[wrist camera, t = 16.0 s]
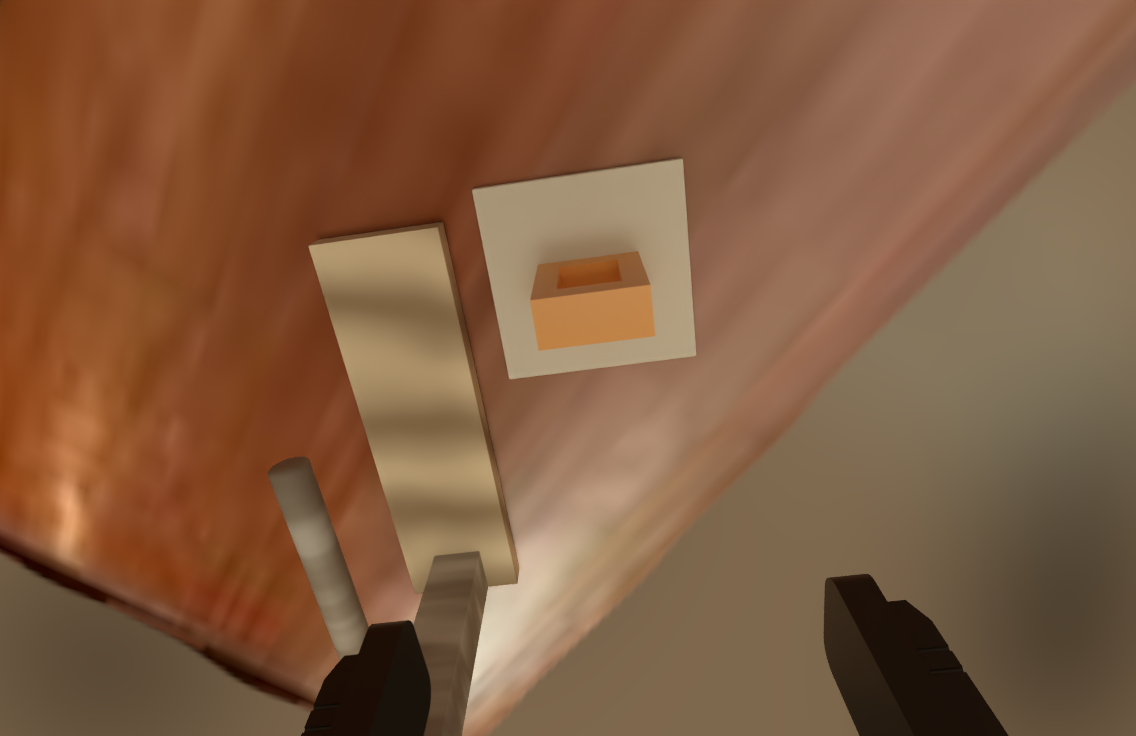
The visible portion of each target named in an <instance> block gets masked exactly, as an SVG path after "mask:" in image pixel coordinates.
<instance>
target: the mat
mask: <svg viewBox="0 0 1136 736" xmlns="http://www.w3.org/2000/svg"><path fill="white" fill-rule="evenodd" d="M472 193H473V198H474V203H475V208H476V213H477V218H478V223H479V228H480V233H481V238H482V243H483V248H484V253H485V259H486V264H487V269H488V274H489V279H490V284H491V289H492V294H493V299H494V304H495V309H496V314H497V319H498V324H499V329H500V334H501V339H502V344H503V349H504V354H505V359H506V365H507V370H508V375H509V379H516V378H524V377H532V376H540V375H548V374H556V373H564V372H572V371H579V370H587V369H595V368H603V367H611V366H619V365H627V364H635V363H643V362H651V361H659V360H667V359H675V358H683V357H691V356H696V344H695V329H694V315H693V300H692V286H691V271H690V256H689V242H688V227H687V213H686V198H685V183H684V169H683V159H682V158H676V159H669V160H662V161H655V162H648V163H642V164H635V165H628V166H621V167H614V168H608V169H601V170H594V171H587V172H581V173H574V174H567V175H560V176H553V177H547V178H540V179H533V180H526V181H519V182H513V183H506V184H499V185H492V186H485V187H479V188H473V189H472ZM636 251H638V252H639V255H640V257H641V260H642V263H643V266H644V268H645V271H646V274H647V276H648V279H649V282H650V284H651V295H652V306H653V317H654V328H655V336H653V337H645V338H637V339H629V340H621V341H613V342H605V343H597V344H589V345H581V346H573V347H565V348H557V349H549V350H541V351H539V350H538V344H537V339H536V333H535V327H534V321H533V315H532V309H531V303H530V298H531V294H532V289H533V284H534V280H535V275H536V271H537V266H538V265H539V264H546V263H554V262H561V261H568V260H576V259H583V258H591V257H598V256H606V255H613V254H621V253H628V252H636Z"/></svg>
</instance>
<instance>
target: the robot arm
mask: <svg viewBox="0 0 1136 736" xmlns="http://www.w3.org/2000/svg"><path fill="white" fill-rule="evenodd" d="M824 603H825V604H824V645H825V651H826V656H827V660H828V663H829V666H830V669H831V672H832V674H833V677H834V679H835V681H836V683H837V686H838V688H839V690H840V692H841V695H842V697H843V699H844V702H845V704H846V706H847V708H848V711H849V713H850V715H851V717H852V720H853V722H854V724H855V726H856V729H857V731H858V733H859V736H1008V734H1007V733H1006V731H1005V730H1004V728H1003V727H1002V725H1001V724H1000V722H999V721H998V719H997V718H996V716H995V715H994V713H993V712H992V710H991V709H990V707H989V706H988V704H987V703H986V701H985V700H984V698H983V697H982V695H981V694H980V692H979V691H978V689H977V688H976V686H975V685H974V683H973V682H972V680H971V679H970V677H969V676H968V674H967V673H966V672H963V668H962V665H961V664H960V663H959V661H958V660H957V658H956V656H955V655H954V653H953V652H952V651H950V650H949V647H948V644H947V643H946V642H945V640H944V639H943V637H942V636H941V634H940V633H939V631H938V629H937V628H936V626H935V625H934V624H933V622H932V621H931V620H930V619H929V618H928V617H926V616H925V615H924V614H923V613H921V612H920V611H919V610H917V609H916V608H915V607H913V606H912V605H911V604H910V603H908V602H907V601H906V600H900V601H891V602H887V600H886V599H885V597H884V595H883V594H882V592H881V591H880V589H879V587H878V586H877V584H876V582H875V581H874V579H873V578H872V577H871V576H870V575H869V574H860V575H850V576H841V577H831V578H827V579H826V582H825V602H824ZM430 704H431V682H430V676H429V672H428V669H427V666H426V663H425V660H424V656H423V653H422V650H421V647H420V644H419V641H418V638H417V634H416V631H415V628H414V626H413V624H412V622H411V621H409V620H407V621H398V622H388V623H379V624H372V625H371V626H370V627H369V628H368V630H367V632H366V635H365V637H364V640H363V643H362V645H361V648H360V651H359V653H358V654H355V655H345V656H344V657H343V658H342V659H341V660H340V661H339V663H338V664H337V665H336V666H335V667H334V669H333V670H332V671H331V672H330V673H329V675H328V676H327V677H326V678H325V679H324V682H323V684H322V687H321V689H320V691H319V694H318V696H317V699H316V701H315V703H314V710H313V711H311V713H310V715H309V718H308V720H307V723H306V725H305V732H304V733H302V735H301V736H424V732H425V728H426V723H427V719H428V715H429V710H430Z"/></svg>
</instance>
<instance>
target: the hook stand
mask: <svg viewBox="0 0 1136 736" xmlns="http://www.w3.org/2000/svg"><path fill="white" fill-rule="evenodd" d="M309 250H310V253H311V256H312V259H313V263H314V266H315V269H316V272H317V276H318V279H319V282H320V285H321V289H322V292H323V295H324V298H325V302H326V305H327V308H328V311H329V315H330V318H331V321H332V324H333V328H334V331H335V334H336V337H337V340H338V344H339V347H340V350H341V353H342V357H343V360H344V363H345V366H346V370H347V373H348V376H349V379H350V383H351V386H352V389H353V392H354V396H355V399H356V402H357V405H358V409H359V412H360V415H361V418H362V422H363V425H364V428H365V431H366V435H367V438H368V441H369V444H370V448H371V451H372V454H373V457H374V461H375V464H376V467H377V470H378V474H379V477H380V480H381V483H382V487H383V490H384V493H385V496H386V500H387V503H388V506H389V509H390V513H391V516H392V519H393V522H394V525H395V529H396V532H397V535H398V538H399V542H400V545H401V548H402V551H403V555H404V558H405V561H406V564H407V568H408V571H409V574H410V577H411V581H412V584H413V587H414V590H415V594H420V593H423V595H422V599H421V602H420V605H419V609H418V612H417V615H416V618H415V622H414V625H413V626H414V628H415V631H416V634H417V638H418V641H419V644H420V647H421V650H422V653H423V656H424V660H425V663H426V666H427V669H428V672H429V676H430V682H431V704H430V710H429V715H428V719H427V723H426V728H425V732H424V736H462V730H463V725H464V719H465V714H466V708H467V702H468V697H469V691H470V685H471V680H472V674H473V668H474V663H475V657H476V652H477V646H478V640H479V635H480V629H481V623H482V618H483V612H484V607H485V601H486V595H487V590H488V586H498V585H507V584H517V582H518V574H519V565H518V560H517V556H516V551H515V547H514V542H513V538H512V533H511V528H510V524H509V519H508V515H507V510H506V506H505V501H504V497H503V492H502V488H501V483H500V478H499V474H498V469H497V465H496V460H495V456H494V451H493V447H492V442H491V438H490V433H489V428H488V424H487V419H486V415H485V410H484V406H483V401H482V397H481V392H480V388H479V383H478V378H477V374H476V369H475V365H474V360H473V356H472V351H471V347H470V342H469V338H468V333H467V328H466V324H465V319H464V315H463V310H462V306H461V301H460V297H459V292H458V288H457V283H456V278H455V274H454V269H453V265H452V260H451V256H450V251H449V247H448V242H447V237H446V233H445V228H444V224H443V222H437V223H431V224H424V225H417V226H410V227H403V228H396V229H389V230H382V231H375V232H368V233H361V234H354V235H347V236H340V237H333V238H326V239H319V240H317V241H316V242H314V243H312V244H311V245H309ZM268 477H269V479H270V482H271V484H272V487H273V490H274V492H275V495H276V497H277V500H278V502H279V505H280V508H281V510H282V513H283V515H284V518H285V520H286V523H287V525H288V528H289V531H290V533H291V536H292V538H293V541H294V543H295V546H296V549H297V551H298V554H299V556H300V559H301V561H302V564H303V567H304V569H305V572H306V574H307V577H308V579H309V582H310V584H311V587H312V590H313V592H314V595H315V597H316V600H317V602H318V605H319V608H320V610H321V613H322V615H323V618H324V620H325V623H326V625H327V628H328V631H329V633H330V636H331V638H332V641H333V643H334V646H335V649H336V651H337V654H338V656H339V659H340V660H341V659H342V658H343V657H344V656H345V655H355V654H358V653H359V651H360V648H361V645H362V643H363V640H364V637H365V635H366V632H367V630H368V628H369V626H368V624H367V621H366V618H365V615H364V612H363V609H362V607H361V604H360V601H359V598H358V595H357V593H356V590H355V587H354V584H353V581H352V578H351V576H350V573H349V570H348V567H347V564H346V562H345V559H344V556H343V553H342V550H341V548H340V545H339V542H338V539H337V536H336V533H335V531H334V528H333V525H332V522H331V519H330V517H329V514H328V511H327V508H326V505H325V503H324V500H323V497H322V494H321V491H320V488H319V486H318V483H317V480H316V477H315V474H314V472H313V469H312V466H311V463H310V460H309V459H308V458H306V457H294V458H289V459H286V460H284V461H281V462H279V463H278V464H276V465H274V466H273V467H272V468H271V469H270V470H269V472H268Z"/></svg>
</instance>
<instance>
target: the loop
mask: <svg viewBox="0 0 1136 736" xmlns="http://www.w3.org/2000/svg"><path fill="white" fill-rule="evenodd" d="M530 303H531V309H532V315H533V321H534V327H535V333H536V339H537V344H538V350H539V351H541V350H549V349H557V348H565V347H573V346H581V345H589V344H597V343H605V342H613V341H621V340H629V339H637V338H645V337H653V336H655V328H654V317H653V306H652V295H651V284H650V282H649V279H648V276H647V274H646V271H645V268H644V266H643V263H642V260H641V257H640V255H639V252H638V251H636V252H628V253H621V254H613V255H606V256H598V257H591V258H583V259H576V260H568V261H561V262H554V263H546V264H539V265H538V266H537V271H536V275H535V280H534V284H533V289H532V294H531V298H530Z"/></svg>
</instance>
